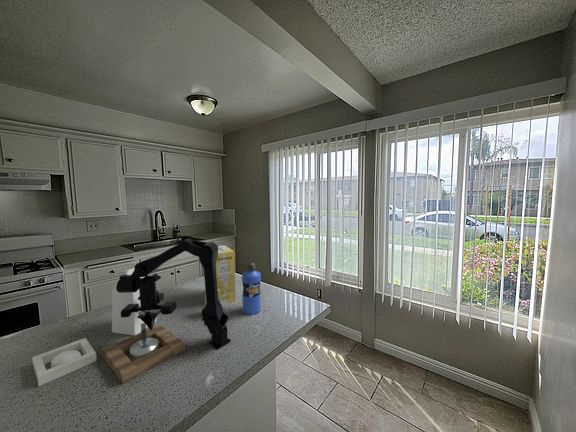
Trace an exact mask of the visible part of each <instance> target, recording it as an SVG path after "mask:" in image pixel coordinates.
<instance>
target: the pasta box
mask: <svg viewBox="0 0 576 432" xmlns="http://www.w3.org/2000/svg"><path fill="white" fill-rule="evenodd" d="M217 246H218V257H217V262H216V276H217V288H218V289H219V290H220V303H221V305H225V304H226V305H227V304H230V303H234V302H235V303H236V264H235V263H236V257H235V256H236V253H235V250H233V249H231V248H230V247H228V246H226V245H217Z"/></svg>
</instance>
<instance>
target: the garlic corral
mask: <svg viewBox="0 0 576 432" xmlns="http://www.w3.org/2000/svg"><path fill="white" fill-rule="evenodd" d="M69 350H75V351H79V352H80V353H81V356H80V357H77V358H75V359H72V360H70V361H68V362H65V363H63V364H60V365H58V366H55V367H53V368H52V367H50V368H49V369H47V368H46V364H48V363H51V361H52V360H53V358H55V357H56V356H57V355H59V354H60V353H62V352H64V351H69ZM31 360H32V368H33V371H34V374H35V378H36V381H37V386H38V387H40V386H42V385H45V384H48V383H49V382H51V381H52V382H53V381H54V380H56V379H59V378H61V377H63V376H66V375H68V374H70V373H72V372H74V371H76V370H79V369H81V368H84V367H86V366H89V365H91V364H92V363H95V362H97V352H96V350H95V349H94V348H93V346H92V345H91V344H90V342H89V341H88V340H87V338H86V337H84V338H81V339H78V340H76V341H73V342H71V343H68V344H65V345H63V346H60V347H57V348H55V349H51V350H48V351H46V352H44V353H40V354H38V355H34V356H33V357H31Z"/></svg>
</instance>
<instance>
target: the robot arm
mask: <svg viewBox="0 0 576 432" xmlns="http://www.w3.org/2000/svg"><path fill="white" fill-rule="evenodd" d="M218 246H219V245H218V244H216V243H215V242H213V241H211V242H210V241H209V242H208V241H207V242H206V241H201V240H200V241H199V240H195V239H191V238H186V239H183V240H182V241H181V242H180V243H177V244H175V245H174V246H172V247H170V248H168V249H167V250H164V251H163V252H161V253H159V254H158V255H154V256H152V257H149V258H146V259H143V260H141V261H140V262H137V263H136V264H135V265H134V267H133V268H134V271H133V273H132V274H131V275H124V274H122V275H119V279H118V281H117V283H116V285H117V286H116V285H115V286H116V290H117V292H119V293H133V292H137V291H138V289H139V294H140V296H139V297H138V300H140V305H141V307H139V304H128V305H127V306H126V307H125V308H124V309H122V310H121V318H123V317H129V316H130V315H131V313H132V312H138V317H137V318H140V319H141V320H142V321H143V322H144V323H145V324H146V325H147V328H148V330H149V329H150V330H152V329H153V328H154V327H155V325H154V324H155V323H156V322H155V319H157V316H158V315H159V314H161V315H172V314H173V313H174V311H175V310H176V309H177V308H178V307H177V306H178V303H177V302H176V301H175V300H171V301H170V300H169V301H165V302H164V303H163V304H161V303H162V301H164V297H165V295H164V294H165V293H164V292H159V291H158V290H157V282H158V281H159V280H160V279H161V278H162V276H160V275H158V273H154V272H155V271H157V270H158V269H159V268H160V267H161V266H162V265H163V264H165V263H166V262H168V261H170V260H171V259H173V258H176V257H178V255H181V254H183V253H186V252H187V253H189V254H190V255H192V256H195V257H198V260H199V263H200V265H201V266H202V268H203V275H204V276H203V277H204V288H205V289H204V292H205V291H206V302H207V304H206V305H205V304H204V306H203V308H202V309H201V316H202V317H201V321H203V324H204V326H205V327H206V328H207V329H208V330H207V331H208V332H209V334H210V339H209V341H207V343H208V344H209V345H211V346H212V347H213V348H215V349H216V350H218V349H221V348H222V347H224V346H226V345H227V344H229V343H231V339H230V338H228V337H229V336H228V335H229V334H228V327H227V323H228V322H229V320H230V317H229V316H228V314H226V313H225V312H224V309H223V306H222V305H223V304H222V305H221V303H220V301H219V299H218V288H217V276H216V262H217V257H218ZM153 273H154V274H153ZM151 274H152V275H151ZM140 277H144V278H140Z"/></svg>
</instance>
